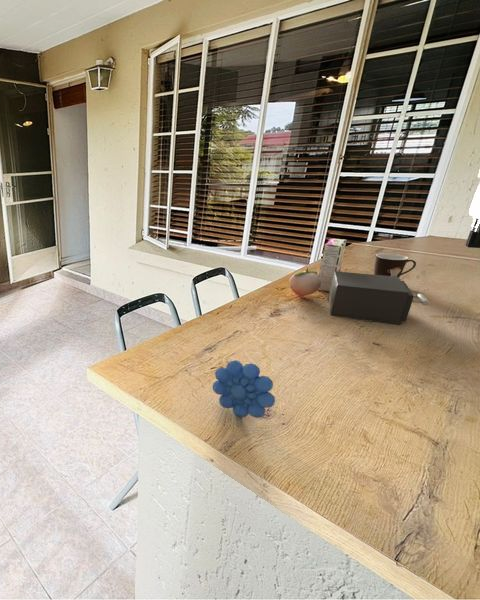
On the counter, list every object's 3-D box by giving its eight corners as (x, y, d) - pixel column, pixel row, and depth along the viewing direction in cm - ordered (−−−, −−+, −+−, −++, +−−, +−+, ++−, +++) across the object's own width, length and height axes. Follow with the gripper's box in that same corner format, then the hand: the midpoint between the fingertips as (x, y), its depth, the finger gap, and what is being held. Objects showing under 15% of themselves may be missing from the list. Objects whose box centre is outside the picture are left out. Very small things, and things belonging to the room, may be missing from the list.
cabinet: (389, 306, 107) (398, 276, 104) (399, 325, 96) (409, 292, 92) (328, 298, 115) (334, 271, 112) (330, 315, 104) (337, 285, 100)
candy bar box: (321, 281, 130) (330, 238, 124) (337, 283, 127) (347, 239, 121) (314, 290, 123) (324, 244, 117) (331, 292, 120) (342, 245, 114)
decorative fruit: (305, 303, 112) (311, 274, 109) (282, 296, 119) (287, 268, 116) (324, 298, 116) (330, 269, 112) (300, 290, 123) (306, 263, 119)
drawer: (415, 307, 104) (423, 282, 101) (426, 325, 93) (436, 298, 90) (338, 298, 113) (343, 275, 110) (340, 313, 103) (346, 288, 100)
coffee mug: (369, 285, 124) (376, 258, 120) (368, 278, 131) (375, 252, 127) (413, 290, 118) (422, 262, 114) (409, 283, 124) (418, 255, 121)
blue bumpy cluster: (281, 422, 64) (292, 366, 60) (261, 439, 60) (271, 381, 56) (224, 392, 73) (230, 341, 68) (204, 405, 69) (209, 353, 65)
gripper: (544, 171, 74) (509, 255, 80) (512, 168, 85) (484, 242, 92) (493, 172, 77) (464, 252, 84) (469, 169, 89) (445, 240, 96)
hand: (474, 247), depth 88 cm, fingers closed
